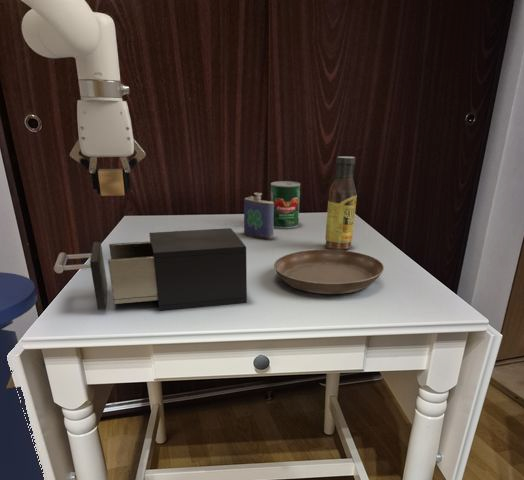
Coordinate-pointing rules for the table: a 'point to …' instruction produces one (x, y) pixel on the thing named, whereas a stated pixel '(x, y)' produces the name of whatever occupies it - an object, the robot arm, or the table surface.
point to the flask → (258, 217)
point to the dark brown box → (199, 268)
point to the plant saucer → (328, 271)
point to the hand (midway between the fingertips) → (112, 191)
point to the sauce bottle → (341, 206)
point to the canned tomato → (285, 204)
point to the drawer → (119, 272)
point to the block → (111, 182)
